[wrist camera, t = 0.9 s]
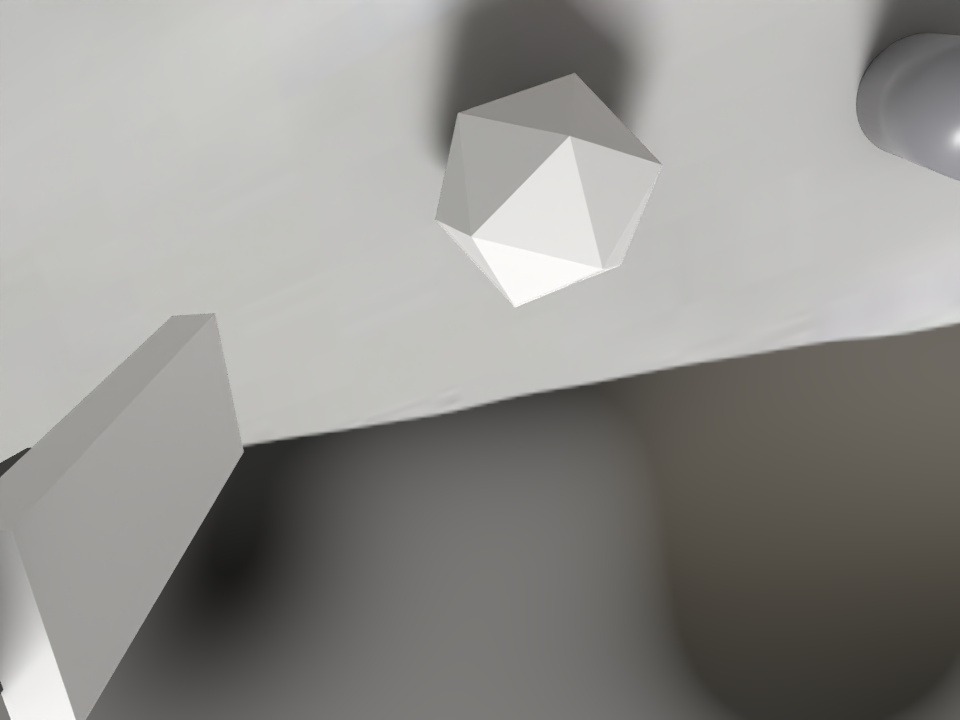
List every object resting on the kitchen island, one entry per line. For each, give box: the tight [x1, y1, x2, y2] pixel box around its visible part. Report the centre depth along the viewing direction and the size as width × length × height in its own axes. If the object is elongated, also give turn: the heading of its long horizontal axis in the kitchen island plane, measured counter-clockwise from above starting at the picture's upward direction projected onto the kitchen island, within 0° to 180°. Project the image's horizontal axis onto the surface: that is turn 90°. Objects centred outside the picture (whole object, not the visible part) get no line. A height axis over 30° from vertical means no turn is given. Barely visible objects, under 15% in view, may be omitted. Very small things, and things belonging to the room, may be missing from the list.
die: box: [435, 73, 662, 307], centre depth 35 cm, size 8×9×10 cm
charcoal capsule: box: [856, 33, 960, 180], centre depth 34 cm, size 5×5×6 cm
